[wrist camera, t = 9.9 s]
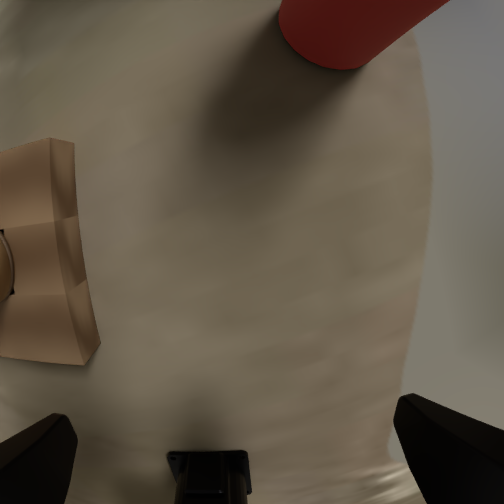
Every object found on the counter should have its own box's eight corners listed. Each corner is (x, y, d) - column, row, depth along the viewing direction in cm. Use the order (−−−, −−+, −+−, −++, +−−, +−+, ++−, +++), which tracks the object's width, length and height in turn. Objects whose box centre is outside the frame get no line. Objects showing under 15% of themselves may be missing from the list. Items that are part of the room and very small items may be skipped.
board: (100, 342, 19) (84, 365, 16) (-15, 335, 18) (-35, 350, 15) (73, 143, 16) (49, 137, 13) (-42, 176, 15) (-67, 178, 13)
